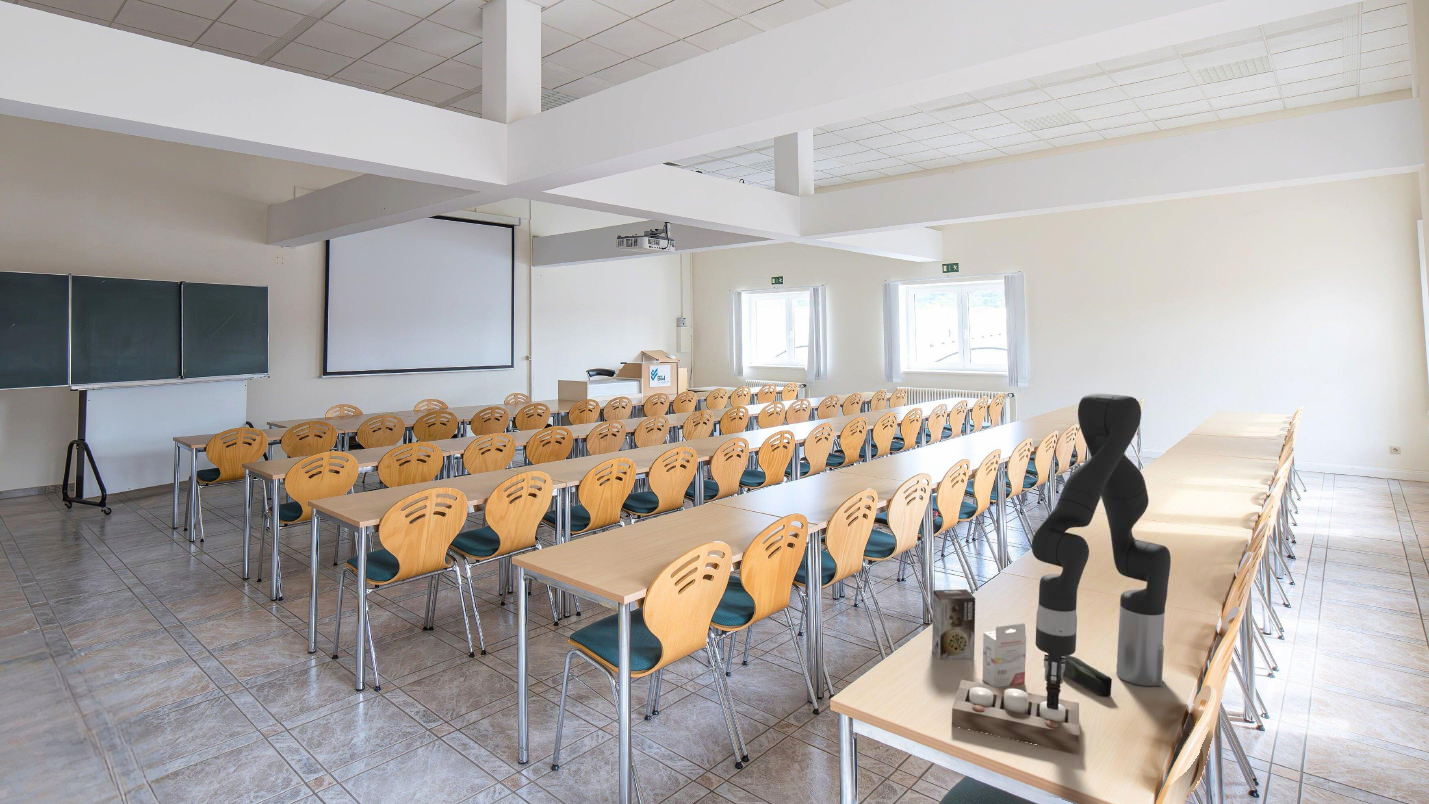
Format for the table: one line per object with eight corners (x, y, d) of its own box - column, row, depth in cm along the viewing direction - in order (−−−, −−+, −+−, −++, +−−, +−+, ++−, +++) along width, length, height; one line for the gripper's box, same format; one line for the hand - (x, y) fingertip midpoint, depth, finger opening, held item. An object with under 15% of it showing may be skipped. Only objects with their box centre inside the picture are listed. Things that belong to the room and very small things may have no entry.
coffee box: (965, 648, 193) (967, 588, 191) (974, 659, 186) (976, 597, 185) (930, 649, 192) (932, 589, 191) (939, 660, 186) (941, 598, 184)
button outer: (993, 707, 160) (994, 690, 160) (991, 718, 156) (992, 700, 155) (970, 702, 162) (971, 685, 162) (967, 712, 158) (968, 695, 157)
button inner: (1064, 722, 154) (1065, 704, 154) (1064, 733, 150) (1065, 715, 149) (1039, 717, 156) (1040, 699, 156) (1038, 728, 152) (1039, 709, 151)
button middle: (1028, 709, 157) (1029, 691, 156) (1027, 720, 153) (1028, 701, 152) (1004, 704, 159) (1005, 686, 159) (1002, 714, 155) (1003, 696, 154)
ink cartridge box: (1011, 674, 178) (1013, 615, 177) (1025, 683, 174) (1027, 623, 172) (980, 678, 176) (983, 619, 175) (994, 688, 171) (996, 627, 170)
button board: (1078, 720, 157) (1079, 702, 157) (1078, 754, 145) (1079, 734, 144) (960, 696, 168) (961, 678, 167) (951, 726, 155) (952, 707, 155)
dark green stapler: (1114, 676, 167) (1061, 648, 181) (1104, 679, 166) (1052, 650, 180) (1112, 697, 168) (1060, 667, 182) (1103, 699, 167) (1050, 669, 180)
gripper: (1076, 642, 143) (1072, 727, 145) (1076, 618, 155) (1072, 697, 157) (1034, 635, 146) (1031, 718, 148) (1037, 612, 158) (1034, 689, 160)
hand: (1052, 707), depth 152 cm, fingers closed
